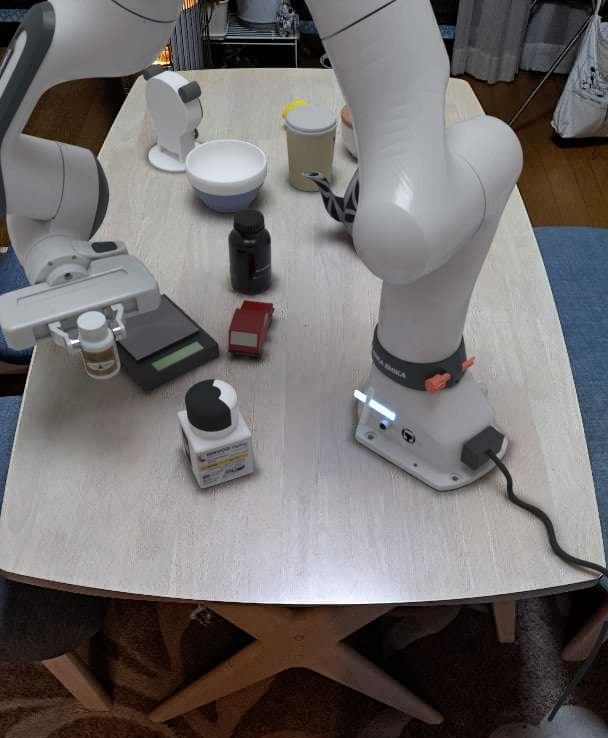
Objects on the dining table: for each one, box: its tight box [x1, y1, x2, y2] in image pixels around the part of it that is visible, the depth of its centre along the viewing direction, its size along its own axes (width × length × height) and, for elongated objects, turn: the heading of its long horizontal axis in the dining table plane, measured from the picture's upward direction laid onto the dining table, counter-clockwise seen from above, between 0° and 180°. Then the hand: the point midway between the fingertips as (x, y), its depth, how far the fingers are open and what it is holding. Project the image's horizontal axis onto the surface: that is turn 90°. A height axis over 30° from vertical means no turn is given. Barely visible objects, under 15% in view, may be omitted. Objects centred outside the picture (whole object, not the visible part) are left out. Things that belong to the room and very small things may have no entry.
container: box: [176, 378, 255, 489], centre depth 106 cm, size 8×8×13 cm
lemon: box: [281, 99, 310, 121], centre depth 161 cm, size 7×5×5 cm
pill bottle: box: [77, 311, 121, 380], centre depth 100 cm, size 4×4×8 cm
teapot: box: [302, 167, 359, 239], centre depth 136 cm, size 19×31×15 cm, turn 94°
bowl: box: [185, 138, 268, 213], centre depth 145 cm, size 14×14×8 cm
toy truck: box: [227, 299, 276, 359], centre depth 124 cm, size 6×12×5 cm, turn 170°
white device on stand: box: [142, 63, 204, 173], centre depth 150 cm, size 12×11×15 cm
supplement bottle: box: [227, 208, 272, 295], centre depth 129 cm, size 7×7×12 cm
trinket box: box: [340, 104, 358, 160], centre depth 154 cm, size 11×11×9 cm
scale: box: [107, 293, 221, 393], centre depth 123 cm, size 15×13×3 cm
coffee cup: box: [284, 103, 339, 193], centre depth 147 cm, size 9×9×12 cm
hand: (98, 342), depth 98 cm, fingers closed on pill bottle, 4 cm apart
